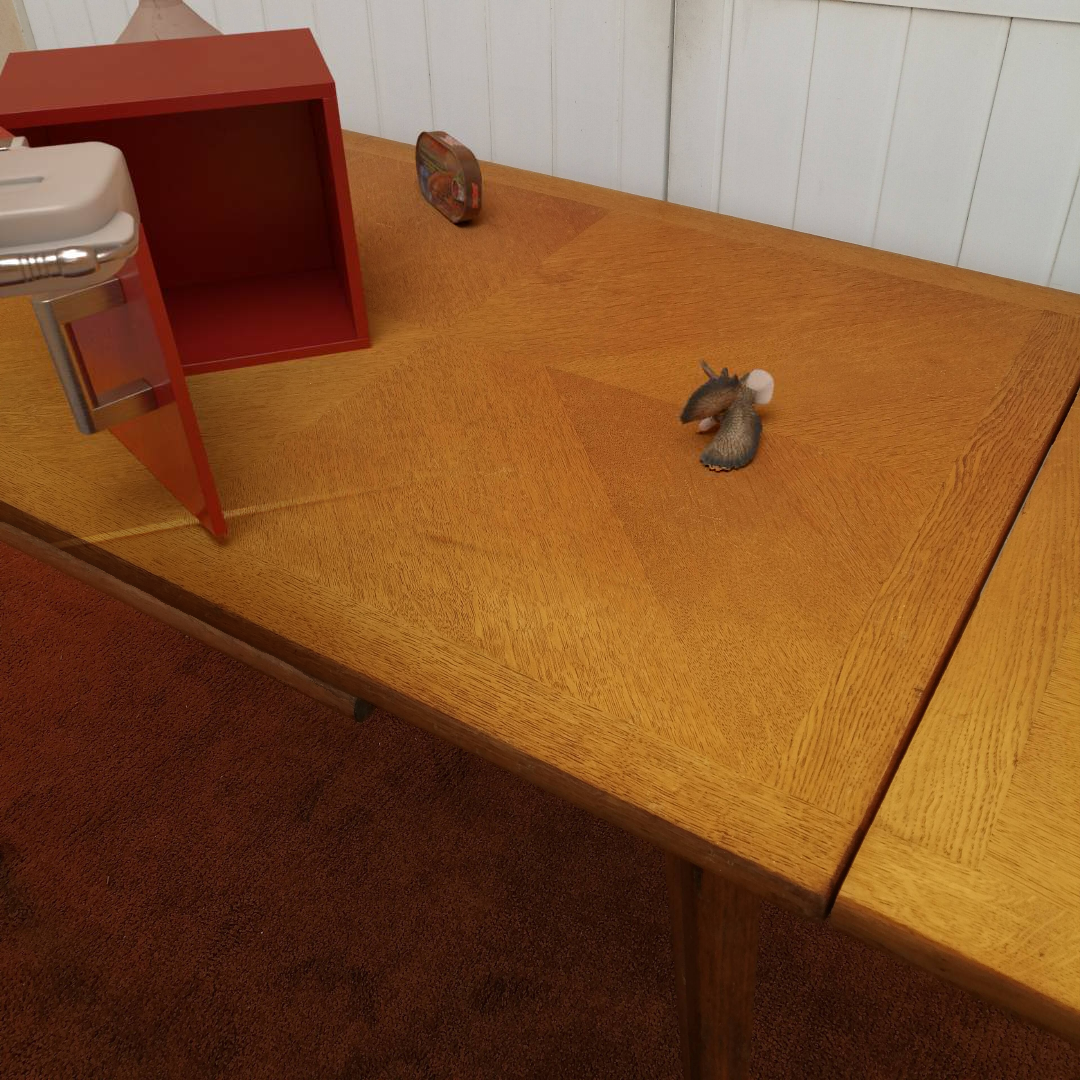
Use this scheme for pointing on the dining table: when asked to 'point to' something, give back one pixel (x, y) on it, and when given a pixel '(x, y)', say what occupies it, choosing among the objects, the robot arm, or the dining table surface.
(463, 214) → the tin
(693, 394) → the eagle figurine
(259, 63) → the red cabinet
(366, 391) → the dining table surface
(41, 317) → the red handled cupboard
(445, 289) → the dining table surface
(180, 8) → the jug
